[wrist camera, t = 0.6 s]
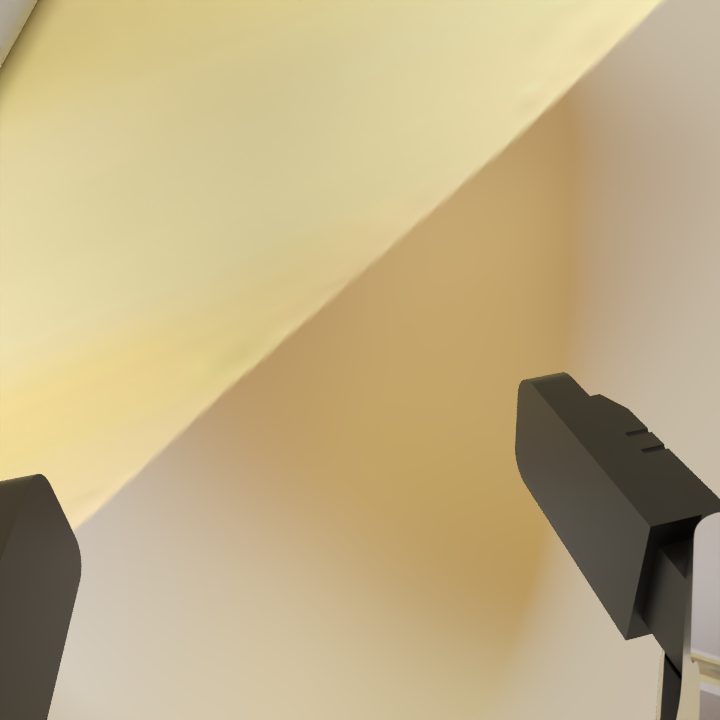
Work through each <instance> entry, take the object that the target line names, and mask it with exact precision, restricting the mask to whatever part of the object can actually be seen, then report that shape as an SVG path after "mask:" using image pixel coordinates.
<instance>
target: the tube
mask: <svg viewBox="0 0 720 720" xmlns="http://www.w3.org/2000/svg"><path fill="white" fill-rule="evenodd" d="M37 1H38V0H0V68H1V66H2V64H3V62H4V60H5V59H6V57H7V55H8V53H9V51H10V50H11V48H12V46H13V44H14V42H15V40H16V39H17V37H18V35H19V33H20V31H21V30H22V28H23V26H24V24H25V22H26V21H27V19H28V17H29V15H30V13H31V12H32V10H33V8H34V6H35V4H36V3H37Z"/></svg>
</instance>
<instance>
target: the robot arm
mask: <svg viewBox="0 0 720 720" xmlns="http://www.w3.org/2000/svg"><path fill="white" fill-rule="evenodd" d="M515 454H516V461H517V465H518V469H519V472H520V474H521V477H522V479H523V481H524V483H525V484H526V486H527V488H528V489H529V491H530V492H531V494H532V496H533V497H534V499H535V500H536V502H537V503H538V505H539V506H540V508H541V509H542V511H543V513H544V514H545V516H546V517H547V519H548V520H549V522H550V524H551V525H552V527H553V528H554V530H555V531H556V533H557V534H558V536H559V537H560V539H561V541H562V542H563V544H564V545H565V547H566V548H567V550H568V551H569V553H570V554H571V556H572V558H573V559H574V561H575V562H576V564H577V566H578V567H579V569H580V570H581V572H582V573H583V575H584V576H585V578H586V579H587V581H588V583H589V584H590V586H591V587H592V589H593V590H594V592H595V593H596V595H597V597H598V598H599V600H600V601H601V603H602V604H603V606H604V607H605V609H606V610H607V612H608V614H609V615H610V617H611V618H612V620H613V621H614V623H615V624H616V626H617V628H618V629H619V631H620V632H621V634H622V635H623V637H624V638H625V640H629V639H633V638H637V637H641V636H645V635H648V634H653V635H654V637H655V638H656V640H657V641H658V643H659V644H660V645H661V647H662V648H663V650H662V654H661V658H660V666H659V680H658V695H657V707H656V720H720V499H719V498H718V497H717V496H716V495H715V494H714V493H713V492H712V491H711V490H710V489H709V488H708V487H707V486H706V485H705V484H704V483H703V482H702V481H701V480H700V479H699V478H698V477H697V476H696V475H695V474H694V473H693V472H692V471H691V470H690V469H689V468H687V466H685V464H684V463H683V462H682V461H680V459H678V457H676V456H675V455H674V454H673V453H672V452H671V451H670V450H669V449H665V447H664V444H663V443H662V442H661V441H660V440H659V439H658V438H657V437H656V436H655V435H654V434H653V433H652V432H650V433H649V432H648V428H647V427H646V426H645V425H644V424H643V423H642V422H641V421H640V420H639V419H638V418H637V417H636V416H635V415H634V414H633V413H632V412H631V411H630V410H629V409H627V408H625V407H624V406H622V405H620V404H618V403H616V402H614V401H612V400H610V399H608V398H606V397H604V396H602V395H600V394H598V395H594V396H589V395H588V394H587V393H586V392H585V391H584V390H583V389H582V388H581V387H580V386H579V384H577V382H576V381H575V380H574V379H573V378H572V377H571V376H570V375H569V374H567V373H564V372H563V373H557V374H552V375H547V376H542V377H536V378H531V379H526V380H523V381H521V383H520V385H519V389H518V403H517V423H516V442H515ZM80 577H81V556H80V550H79V546H78V542H77V540H76V538H75V535H74V533H73V531H72V529H71V527H70V525H69V523H68V521H67V519H66V516H65V514H64V512H63V510H62V508H61V506H60V504H59V502H58V500H57V498H56V495H55V493H54V491H53V489H52V487H51V485H50V483H49V481H48V480H47V478H46V477H45V476H43V475H42V474H36V475H31V476H25V477H20V478H15V479H10V480H5V481H0V720H47V717H48V713H49V708H50V704H51V700H52V696H53V692H54V688H55V683H56V679H57V675H58V671H59V666H60V662H61V658H62V654H63V650H64V645H65V641H66V637H67V633H68V629H69V624H70V620H71V616H72V612H73V607H74V603H75V599H76V594H77V591H78V586H79V582H80Z"/></svg>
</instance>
